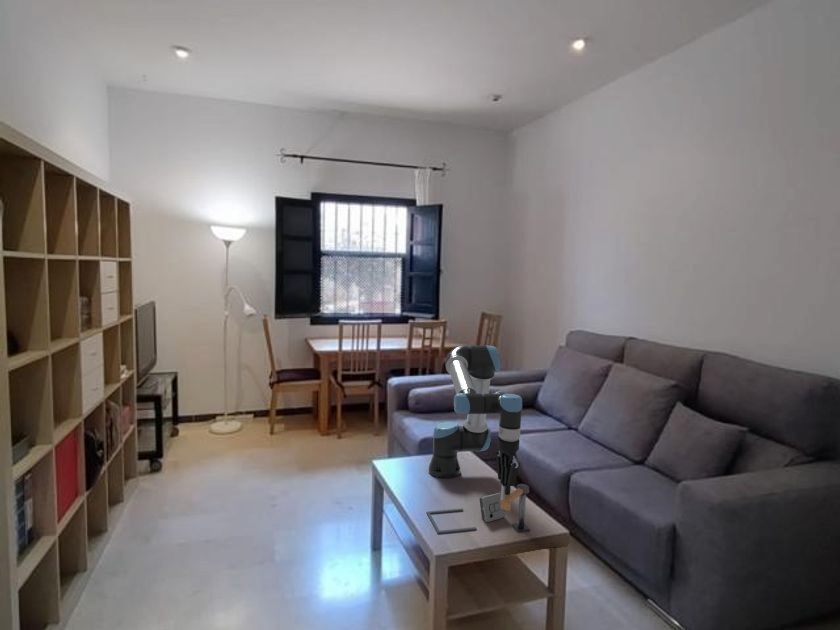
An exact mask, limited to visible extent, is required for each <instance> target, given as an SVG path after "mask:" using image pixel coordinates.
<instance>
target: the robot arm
mask: <svg viewBox="0 0 840 630" xmlns="http://www.w3.org/2000/svg"><path fill="white" fill-rule="evenodd" d="M498 351H499V350H498V349H497V347H496V346H494V345H471V344H470V345H468V344H467V345H466V344H461V345H459V346H456V347H453V348H452V349H451V350H450V351H449V352H448V353H447V355H446V357H445V363H444V365H445V369H446V372H447V373H448V374H449V375H450V377H451V380H452V383H453V387H454V391H455V393H456V394H454V396H453V408H454V409H453V410H454V412H455V413H456V414H459V415H467V417H466V419H465V420H464V421H463V424H462V425H461V426H460V425H459V424H458V423H457V422H455V421H454V422H453V421H444V422H441V423H439V424H436V425H435V426H434V428H433V434H432V437H433V440H432V441H433V443H432V457H431V460H430V462H429V466H428V473H429V474H430V475H431V476H432V477H435V478H440V479H452V478H456V477H458V476H459V475H461V465H460V461H459V459H458V452H477V453H479V452H482V451H484V452H485V451H487V450H488V449H489V448H490V444H491V439H492V437H491V436H492V434H491V433H492V432H491V428H490V427H489V425H488V423H487V422H486V418H487V415H499V418H498V419H499V421H498V422H499V423H498V438H497V439H498V440H497V448H498V451H497V450H496V451H495V457H496V470H497V479H498V480H500V484H501V485H500V493H501V500H503V499H504V498H506V497H507V496H508V495H510V494H511V487H515V485H516V480H517V476H518V472H519V468H520V467H521V463H520V462H518V461H517V452H518V451H519V450H520V439H521V421H522V413H523V412H522V411H523V398H522V396H520V395H517V394H515V393H506V392H505V391H501V390H498V391H495V392H494V393H490V386H491V380H492V379H493V378H494V377H495V373H499V372H500V369H501V363H500V356H499V355H500V354H499V352H498ZM500 502H501V501H500Z"/></svg>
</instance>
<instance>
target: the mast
mask: <svg viewBox="0 0 840 630" xmlns="http://www.w3.org/2000/svg"><path fill="white" fill-rule="evenodd" d="M526 496H527V493H526V494H521V495H520V496H519V497H518V515H517V522H515V523H511V526H512V528H513V529H514V530H515V531H516V532H517V533H524V532H530V531H531V528H530V527H529V526H528V525H527V524H526V523H525V521H526V518H525V517H526V499H527V497H526Z"/></svg>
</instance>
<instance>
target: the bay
mask: <svg viewBox="0 0 840 630" xmlns="http://www.w3.org/2000/svg"><path fill="white" fill-rule="evenodd" d="M455 512H457V513H458V512H464V509H463V508H454V509H453V508H452V509H443V510H442V509H441V510H433V511H431V510H430V511H426V512H425V513H426V515H427V517H428V519H429V521H430V522H432V523H431V524H432V526H433V528H434V530H435V531H436V533H437V535H440V534H441V535H442V534H450V533H451V534H452V533H461V532H471V531H478V530H477V527H476V526H475V527H474V526H473V527H465V528H464V527H463V528H454V529H443V530H440V529H439V526H437V524H436V522H435V520H434V518H433V516H432V515H434V514H437V515H438V514H446V513H455Z"/></svg>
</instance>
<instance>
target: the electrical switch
mask: <svg viewBox="0 0 840 630" xmlns="http://www.w3.org/2000/svg"><path fill="white" fill-rule="evenodd" d="M478 499H479V505H480V512H481V513H480V514H481V519H482V520H484V522H486V523H489V522H493V521H497V520H500V519H504V518H505V510H503V509H500V507H501V502H500V501H501V492H497V493H494V494H489V495H485V496H482V497H481V496H480V497H479V498H478Z"/></svg>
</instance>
